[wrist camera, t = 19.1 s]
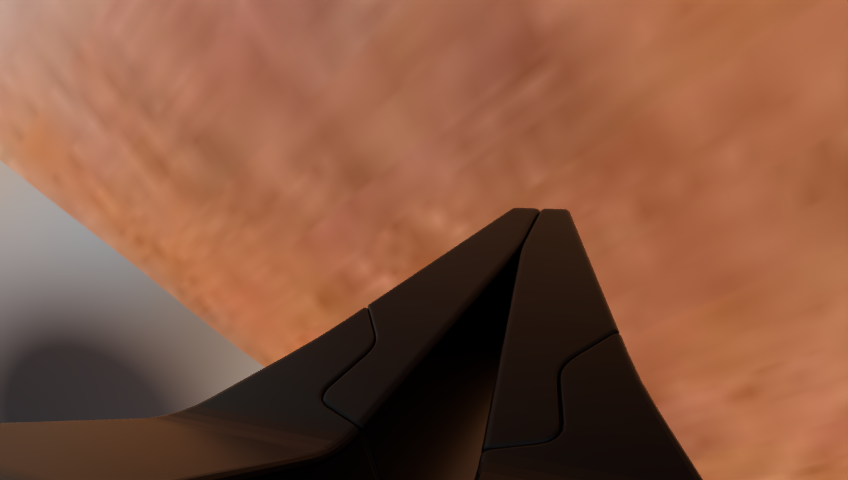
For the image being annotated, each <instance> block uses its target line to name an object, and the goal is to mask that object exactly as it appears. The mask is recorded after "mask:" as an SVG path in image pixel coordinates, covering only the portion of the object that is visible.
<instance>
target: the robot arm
mask: <svg viewBox="0 0 848 480" xmlns="http://www.w3.org/2000/svg"><path fill="white" fill-rule="evenodd" d="M0 480H703V479H702V478H701V476H700V475H699V473H698V472H697V470H696V468H695V467H694V465H693V464H692V462H691V461H690V459H689V457H688V456H687V454H686V453H685V451H684V450H683V448H682V446H681V445H680V443H679V442H678V440H677V439H676V437H675V435H674V434H673V432H672V431H671V429H670V428H669V426H668V425H667V423H666V421H665V420H664V418H663V417H662V415H661V414H660V412H659V410H658V409H657V407H656V405H655V403H654V402H653V400H652V398H651V397H650V395H649V393H648V391H647V390H646V388H645V386H644V385H643V383H642V381H641V379H640V377H639V375H638V373H637V371H636V369H635V366H634V364H633V362H632V360H631V358H630V356H629V354H628V351H627V349H626V347H625V344H624V342H623V339H622V337H621V335H619V331H618V328H617V326H616V323H615V321H614V318H613V316H612V314H611V311H610V309H609V306H608V304H607V302H606V299H605V297H604V294H603V292H602V289H601V287H600V285H599V282H598V280H597V277H596V275H595V273H594V270H593V268H592V265H591V263H590V260H589V258H588V256H587V253H586V251H585V248H584V246H583V243H582V241H581V239H580V236H579V234H578V231H577V229H576V227H575V224H574V222H573V219H572V217H571V214H570V212H569V211H568V210H565V209H543V210H541V212H540V211H539V210H538V209H534V208H513V209H512V210H510V211H508V212H507V213H505V214H504V215H502V216H501V217H499V218H498V219H496V220H495V221H493V222H492V223H490V224H489V225H487V226H486V227H484V228H483V229H481V230H480V231H478V232H477V233H475V234H474V235H472V236H471V237H469V238H468V239H466V240H465V241H463V242H462V243H460V244H459V245H457V246H456V247H454V248H453V249H451V250H450V251H448V252H447V253H445V254H444V255H442V256H441V257H439V258H438V259H437V260H435V261H434V262H432V263H431V264H429V265H428V266H426V267H425V268H423V269H422V270H420V271H419V272H417V273H416V274H414V275H413V276H411V277H410V278H408V279H407V280H405V281H404V282H402V283H401V284H399V285H398V286H396V287H395V288H393V289H392V290H390V291H389V292H387V293H386V294H384V295H383V296H381V297H380V298H378V299H377V300H375V301H374V302H372V303H371V304H369V305H368V309H367V308H363V309H361V310H360V311H358V312H357V313H355V314H354V315H352V316H351V317H349V318H348V319H346V320H345V321H343V322H342V323H340V324H339V325H337V326H335V327H334V328H332V329H331V330H329V331H328V332H326V333H324V334H323V335H321V336H320V337H318V338H316V339H315V340H313V341H311V342H309V343H308V344H306V345H304V346H303V347H301V348H299V349H297V350H296V351H294V352H292V353H290V354H289V355H287V356H285V357H283V358H282V359H280V360H278V361H276V362H274V363H273V364H271V365H269V366H267V367H265V368H263V369H262V370H260V371H258V372H256V373H255V374H253V375H251V376H249V377H247V378H246V379H244V380H242V381H240V382H238V383H236V384H235V385H233V386H231V387H229V388H227V389H226V390H224V391H222V392H220V393H218V394H217V395H215V396H213V397H211V398H209V399H207V400H206V401H203V402H201V403H199V404H197V405H195V406H193V407H190V408H188V409H185V410H182V411H179V412H176V413H172V414H168V415H164V416H158V417H153V418H141V419H112V420H81V421H54V422H52V421H51V422H22V423H0Z"/></svg>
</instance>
